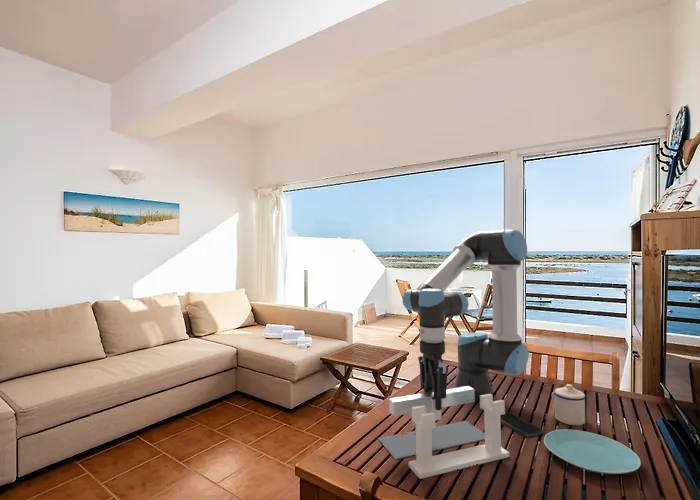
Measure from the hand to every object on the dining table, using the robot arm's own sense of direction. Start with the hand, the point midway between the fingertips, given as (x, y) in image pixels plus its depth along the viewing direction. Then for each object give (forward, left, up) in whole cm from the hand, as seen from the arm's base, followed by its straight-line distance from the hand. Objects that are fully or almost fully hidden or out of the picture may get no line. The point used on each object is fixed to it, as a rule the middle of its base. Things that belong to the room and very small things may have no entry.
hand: (433, 416), depth 113 cm
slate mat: (0, 0, -7) cm, 7 cm away
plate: (+24, +34, -7) cm, 42 cm away
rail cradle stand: (+13, 0, -7) cm, 15 cm away
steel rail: (0, 0, +3) cm, 3 cm away
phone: (+2, +30, -7) cm, 31 cm away
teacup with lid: (+4, +49, -7) cm, 50 cm away
